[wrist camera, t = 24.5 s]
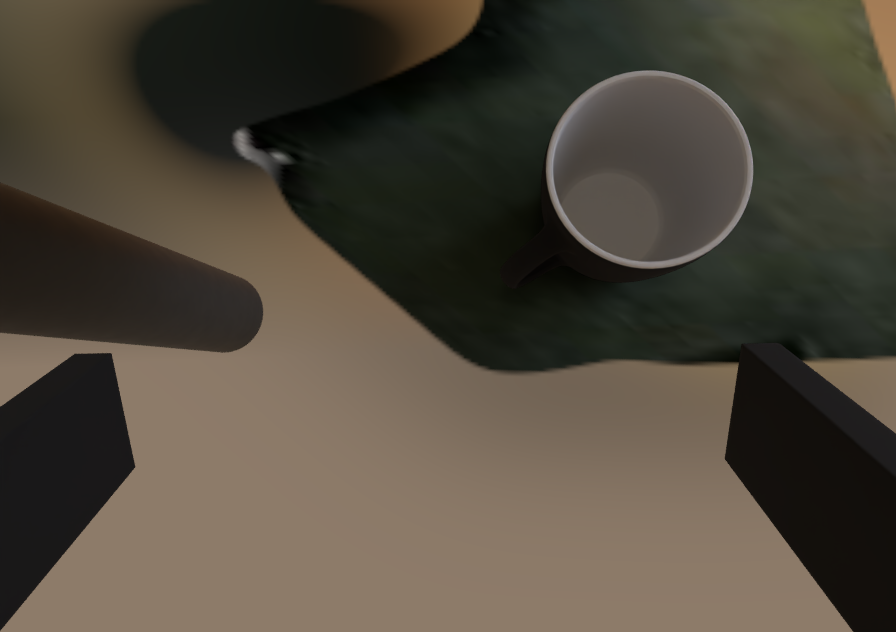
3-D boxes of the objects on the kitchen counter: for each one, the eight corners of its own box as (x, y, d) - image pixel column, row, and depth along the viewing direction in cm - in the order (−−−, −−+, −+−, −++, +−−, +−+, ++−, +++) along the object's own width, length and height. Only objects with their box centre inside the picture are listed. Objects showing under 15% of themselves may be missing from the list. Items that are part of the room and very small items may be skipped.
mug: (625, 120, 38) (672, 29, 28) (715, 241, 37) (798, 192, 27) (459, 232, 38) (447, 182, 28) (545, 357, 37) (564, 350, 27)
